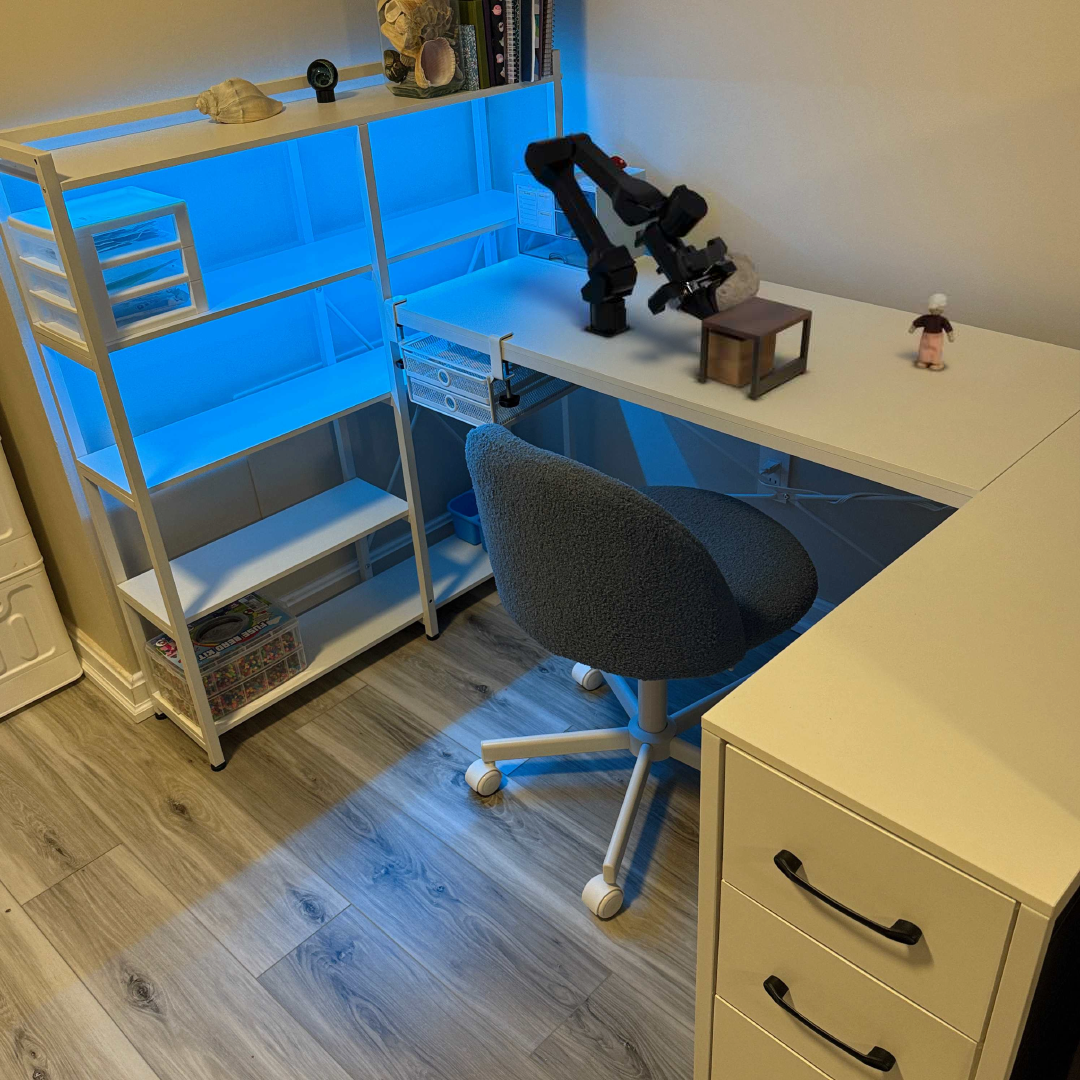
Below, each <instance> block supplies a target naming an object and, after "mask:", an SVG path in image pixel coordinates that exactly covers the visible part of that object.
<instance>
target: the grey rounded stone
mask: <svg viewBox="0 0 1080 1080" xmlns="http://www.w3.org/2000/svg"><path fill="white" fill-rule="evenodd" d="M724 256H725V259H726V260H731V261H732V262H733V263H734V265H735V266H736V268H737V269H738V270H737V271H736V272H735V273H734V274H733V275H732V276H731V277H730V278H729V279H728V280H727V281H726V282H725V283H723V284H722V285H721V286H720V287H719V288H717V289H716V300H717V305H718V309H719V312H721V311H724V310H726V309H728V308H730V307H732V306H735V305H737V304H739V303H741V302H744V301H746V300H748V299H750V298H753V297H755V296H756V297H757V294H758V292H759V290H760V285H761V274H760V273H759V270H758V268H757V266H756V264H755V262H754V261H752V260H751V259H750V258H749V257H748V254H742V253H739V252H734V251H731V250H729V249H727V253H726V254H724ZM719 262H721V261H719ZM719 262H717V263H719ZM712 266H713V265H712ZM712 266H710V268H711V267H712ZM710 268H709V269H710ZM709 269H708V270H709ZM708 270H707V271H708ZM707 271H706V272H707ZM706 272H704V273H703V274H705V273H706ZM675 300H676V301H678V300H679V299H678V298H676V299H675Z"/></svg>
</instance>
